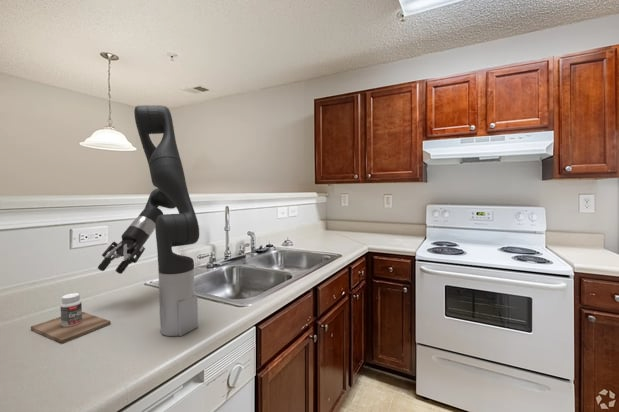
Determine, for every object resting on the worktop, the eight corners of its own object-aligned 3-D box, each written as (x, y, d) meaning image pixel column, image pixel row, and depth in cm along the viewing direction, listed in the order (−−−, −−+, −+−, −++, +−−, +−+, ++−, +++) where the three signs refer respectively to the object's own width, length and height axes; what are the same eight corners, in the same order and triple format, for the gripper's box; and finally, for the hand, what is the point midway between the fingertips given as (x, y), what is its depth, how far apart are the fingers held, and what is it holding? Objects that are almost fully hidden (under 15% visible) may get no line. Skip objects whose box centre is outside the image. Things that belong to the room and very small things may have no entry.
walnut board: (110, 324, 85) (110, 321, 85) (61, 343, 75) (61, 340, 75) (79, 313, 93) (79, 310, 93) (30, 330, 82) (30, 326, 82)
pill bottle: (70, 328, 81) (68, 299, 81) (57, 326, 82) (55, 297, 82) (86, 320, 86) (85, 293, 85) (73, 319, 87) (72, 292, 86)
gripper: (118, 224, 104) (85, 263, 94) (147, 225, 98) (115, 267, 88) (132, 236, 109) (103, 274, 99) (160, 238, 104) (132, 279, 94)
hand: (109, 271), depth 94 cm, fingers open, 8 cm apart
